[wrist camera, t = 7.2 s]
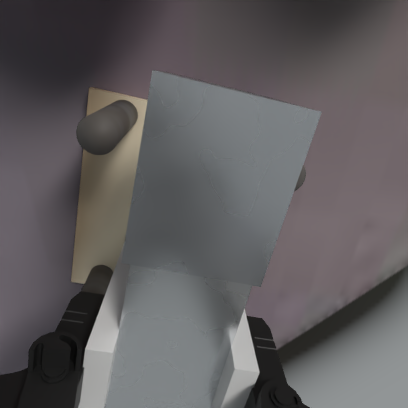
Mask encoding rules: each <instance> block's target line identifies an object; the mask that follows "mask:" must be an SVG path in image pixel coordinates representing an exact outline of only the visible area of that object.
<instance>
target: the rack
mask: <svg viewBox="0 0 408 408" xmlns="http://www.w3.org/2000/svg"><path fill="white" fill-rule="evenodd" d="M147 101H148V100H146V99H141V98H137V97H133V96H128V95H124V94H120V93H115V92H111V91H107V90H103V89H98V88H94V87H90V88H89V94H88V105H87V115H86V117H84V118H83V119H82V120H81V121H80V122H79V124H78V126H77V130H76V135H77V139H78V142H79V144H80V145H81V147H82V148H83V158H82V169H81V180H80V190H79V201H78V212H77V223H76V233H75V244H74V255H73V265H72V276H71V282H75V283H82V284H84V286H83V288H82V290H81V291H84V292H90V293H97V294H103V295H105V294H106V291H107V288H108V286H109V283H110V280H111V277H112V275H113V272H114V269H115V267H116V264H117V261H118V258H119V256H120V253H121V250H122V247H123V245H124V242H125V236H126V230H127V224H128V218H129V212H130V206H131V200H132V193H133V187H134V181H135V175H136V169H137V163H138V157H139V151H140V144H141V138H142V132H143V126H144V120H145V114H146V108H147ZM305 176H306V171H305V167H304V165H303V167H302V170H301V172H300V175H299V178H298V181H297V184H296V187H295V190H294V191H296V190H297V189H298V188H299V187H300V186H301V185H302V184H303V182H304V180H305Z"/></svg>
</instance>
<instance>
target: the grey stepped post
mask: <svg viewBox="0 0 408 408" xmlns="http://www.w3.org/2000/svg"><path fill="white" fill-rule="evenodd" d="M320 115H321V112H320V111H316V110H313V109H309V108H305V107H302V106H298V105H295V104H291V103H287V102H284V101H280V100H276V99H273V98H269V97H265V96H261V95H257V94H253V93H249V92H245V91H241V90H237V89H233V88H229V87H225V86H221V85H217V84H213V83H209V82H205V81H201V80H197V79H193V78H189V77H185V76H181V75H177V74H173V73H169V72H162V71H155V70H153V71H152V77H151V83H150V89H149V95H148V101H147V108H146V114H145V120H144V126H143V132H142V138H141V144H140V151H139V157H138V163H137V169H136V175H135V181H134V187H133V193H132V200H131V206H130V212H129V218H128V224H127V230H126V236H125V243H124V249H123V255H122V261H121V263H123V264H129V265H130V270H129V275H128V281H127V287H126V292H125V298H124V304H123V310H122V315H121V321H120V327H119V334H118V339H117V345H116V351H115V357H114V362H113V368H112V374H111V380H110V385H109V391H108V396H107V401H106V407H105V408H211V404H212V401H213V399H214V396H215V393H216V390H217V387H218V384H219V381H220V378H221V375H222V372H223V369H224V366H225V363H226V360H227V357H228V354H229V351H230V348H231V346H232V344H233V341H234V338H235V335H236V332H237V329H238V326H239V323H240V320H241V317H242V314H243V312H244V309H245V306H246V303H247V300H248V297H249V294H250V291H251V288H252V285H253V286H259V287H261V284H262V281H263V278H264V276H265V273H266V270H267V267H268V264H269V261H270V258H271V256H272V253H273V250H274V247H275V244H276V241H277V238H278V235H279V233H280V230H281V227H282V224H283V221H284V218H285V215H286V213H287V210H288V207H289V204H290V201H291V198H292V195H293V192H294V190H295V187H296V184H297V181H298V178H299V175H300V172H301V170H302V167H303V164H304V161H305V158H306V155H307V152H308V150H309V147H310V144H311V141H312V138H313V135H314V132H315V129H316V127H317V124H318V121H319V118H320Z"/></svg>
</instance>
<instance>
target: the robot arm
mask: <svg viewBox="0 0 408 408" xmlns="http://www.w3.org/2000/svg"><path fill="white" fill-rule="evenodd" d="M124 243H125V242H124ZM123 249H124V245H123V247H122V250H121V253H120V256H119V258H118V261H117V264H116V267H115V269H114V272H113V275H112V277H111V280H110V283H109V286H108V288H107V291H106V294H105V295H103V294H97V293H90V292H84V291H81V292H80V293H79V294H77V295H76V296H75V297H74V298H72V299H71V301H70V303H69V305H68V307H67V309H66V312H65V313H64V315H63V317H62V320H61V321H60V323H59V325H58V327H57V329H56V331H55V332H51V333H48V334H46V335H43V336H41V337H40V338H38V339H37V340H36V341H35V342H33V344H32V346H31V347H30V349H29V359H28V368H27V369H24V370H22V371H19V372H15V373H10V374H3V375H0V408H105V404H106V400H107V396H108V391H109V385H110V380H111V374H112V368H113V362H114V357H115V351H116V345H117V339H118V334H119V327H120V321H121V315H122V310H123V304H124V298H125V292H126V287H127V281H128V275H129V270H130V265H129V264H123V263H121V261H122V255H123ZM211 408H310V407H308V406H306V405H304V404H303V403H302V401H301V398H300V397H299V395H298V394H297V393H296V391H295V390H293V389H292V388H291V387H290V386H289V385H288V384H287V382H286V378H285V375H284V372H283V369H282V365H281V362H280V359H279V356H278V353H277V350H276V346H275V343H274V341H273V337H272V334H271V330H270V328H269V327H268V325H267V324H266V323H265V321H264V320H263V319H262V318H256V317H250V316H246V313H245V309H244V312H243V314H242V317H241V320H240V323H239V326H238V329H237V332H236V335H235V338H234V341H233V344H232V346H231V348H230V351H229V354H228V357H227V360H226V363H225V366H224V369H223V372H222V375H221V378H220V381H219V384H218V387H217V390H216V393H215V396H214V399H213V401H212V404H211Z"/></svg>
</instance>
